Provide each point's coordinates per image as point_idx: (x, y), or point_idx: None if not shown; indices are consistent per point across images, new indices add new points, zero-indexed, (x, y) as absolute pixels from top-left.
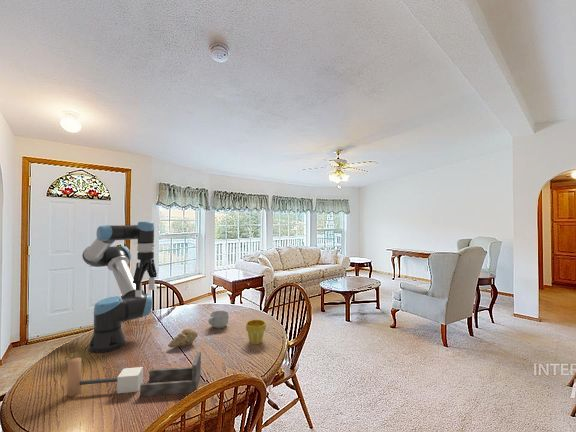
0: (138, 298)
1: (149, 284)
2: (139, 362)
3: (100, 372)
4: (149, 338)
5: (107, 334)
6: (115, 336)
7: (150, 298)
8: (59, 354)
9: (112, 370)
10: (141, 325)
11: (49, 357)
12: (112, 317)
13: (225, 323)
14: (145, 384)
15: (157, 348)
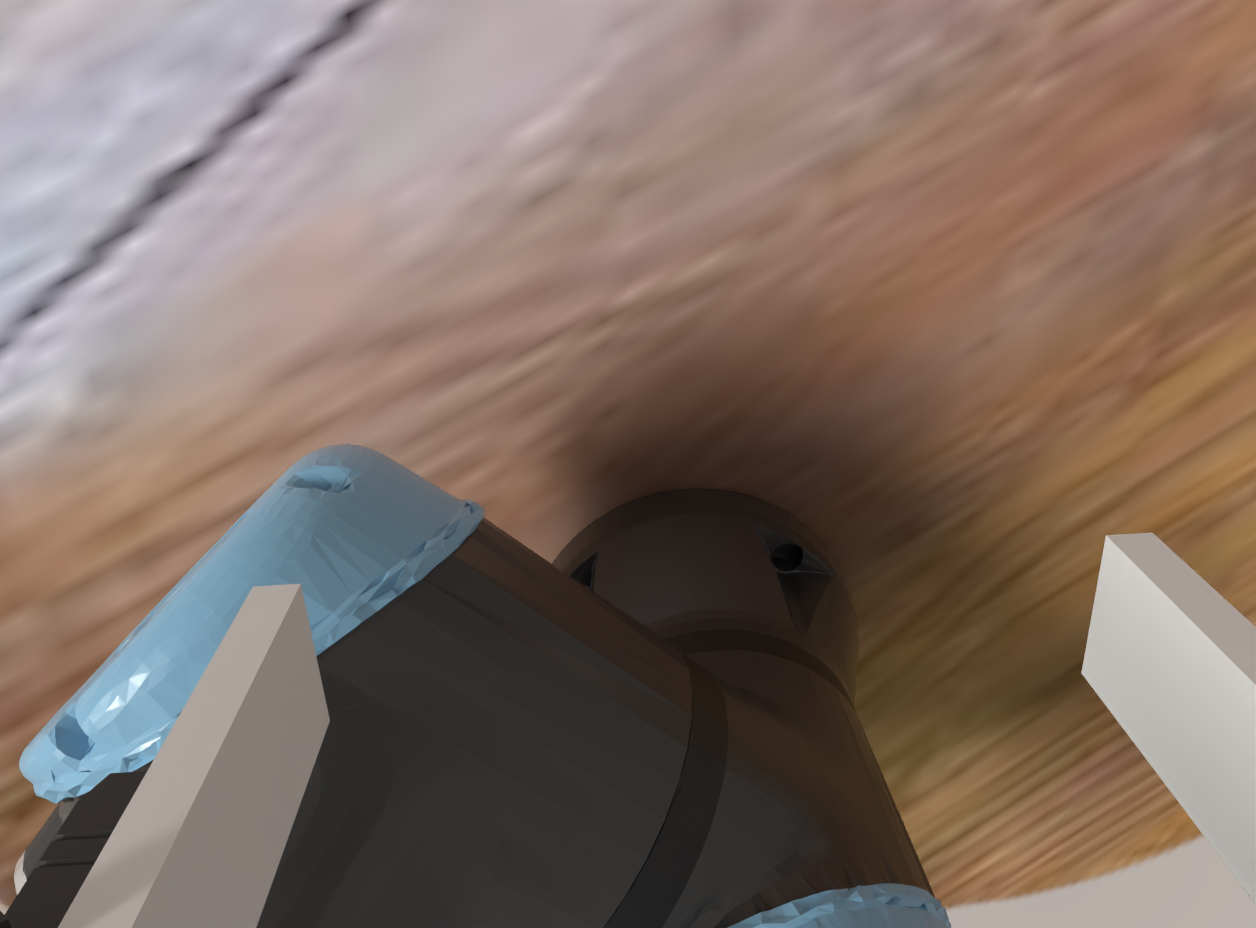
0: (436, 772)
1: (274, 833)
2: (1092, 75)
3: (1234, 361)
4: (462, 298)
5: (835, 669)
6: (776, 591)
7: (255, 584)
8: None
9: (1218, 271)
10: (96, 605)
11: None
12: (857, 779)
13: None
14: None
15: (744, 34)
